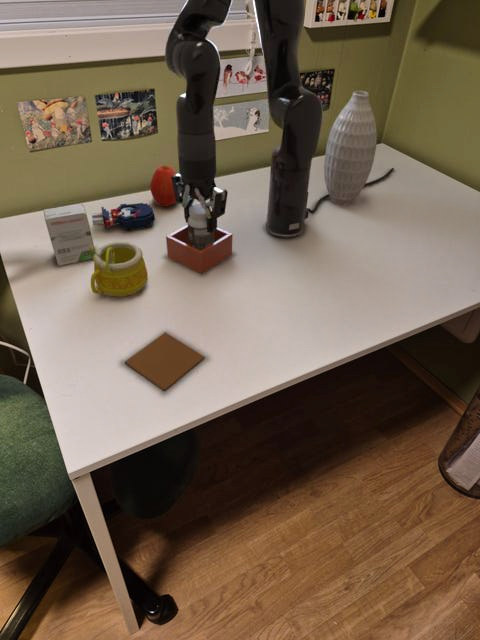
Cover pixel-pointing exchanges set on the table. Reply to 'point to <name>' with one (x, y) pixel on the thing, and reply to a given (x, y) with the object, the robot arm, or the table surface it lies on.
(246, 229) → the table surface
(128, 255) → the mug
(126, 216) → the figurine
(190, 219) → the pill bottle
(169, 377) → the cork pad
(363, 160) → the vase
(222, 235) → the planter
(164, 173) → the red egg-shaped piece
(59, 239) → the ink box
